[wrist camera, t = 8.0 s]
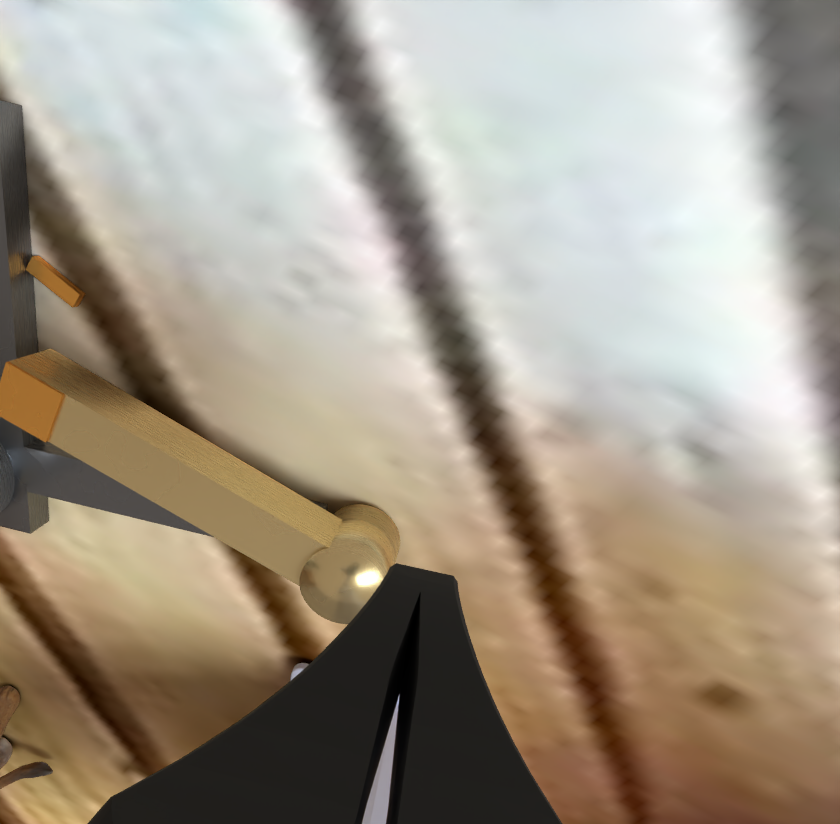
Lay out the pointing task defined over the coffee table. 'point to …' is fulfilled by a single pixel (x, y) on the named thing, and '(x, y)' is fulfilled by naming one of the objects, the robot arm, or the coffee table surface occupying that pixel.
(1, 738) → the lion figurine
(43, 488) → the levelling base
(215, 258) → the coffee table surface
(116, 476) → the lever
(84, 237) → the coffee table surface
